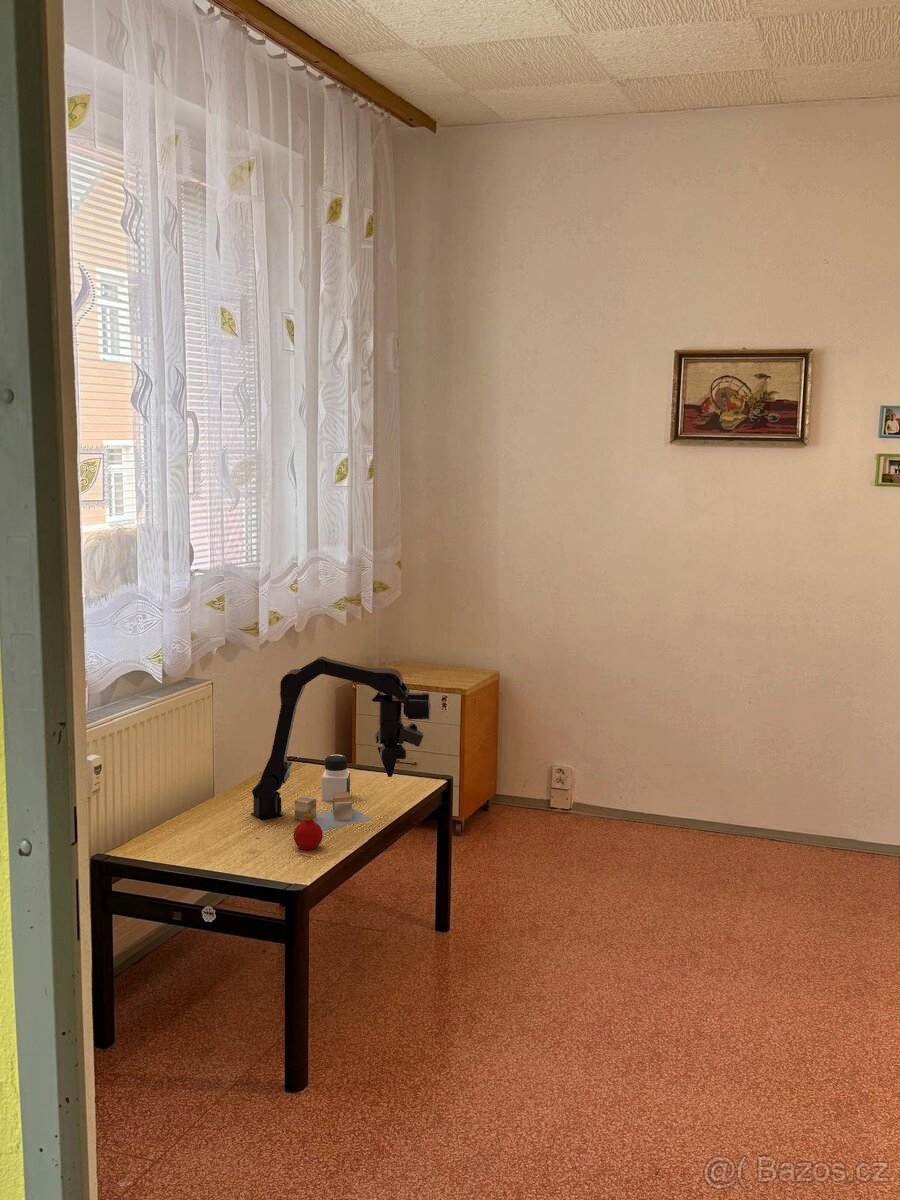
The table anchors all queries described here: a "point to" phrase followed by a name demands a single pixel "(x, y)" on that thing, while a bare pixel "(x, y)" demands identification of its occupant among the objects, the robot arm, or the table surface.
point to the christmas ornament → (308, 833)
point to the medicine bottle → (335, 777)
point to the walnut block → (342, 806)
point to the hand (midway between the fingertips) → (389, 776)
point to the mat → (329, 822)
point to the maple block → (305, 807)
